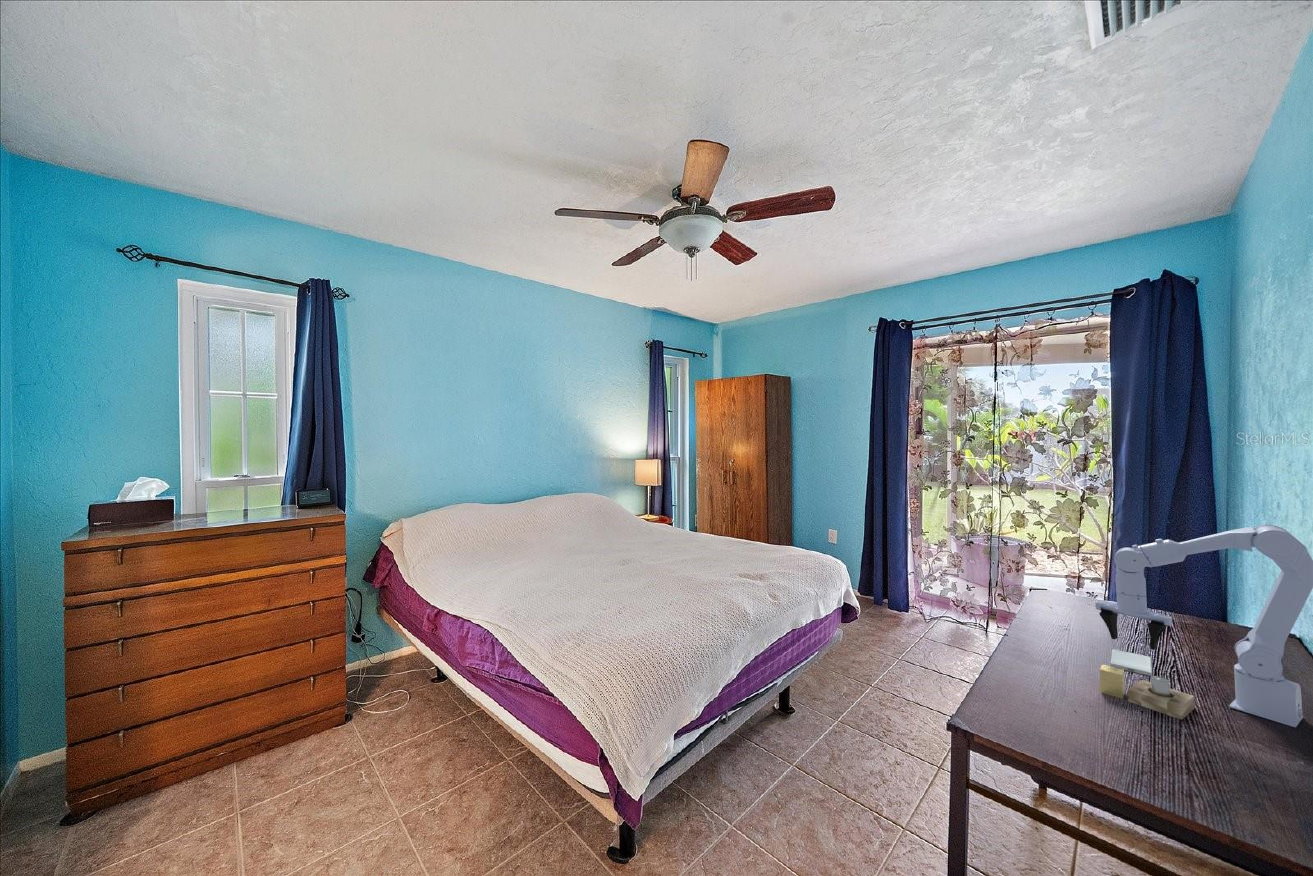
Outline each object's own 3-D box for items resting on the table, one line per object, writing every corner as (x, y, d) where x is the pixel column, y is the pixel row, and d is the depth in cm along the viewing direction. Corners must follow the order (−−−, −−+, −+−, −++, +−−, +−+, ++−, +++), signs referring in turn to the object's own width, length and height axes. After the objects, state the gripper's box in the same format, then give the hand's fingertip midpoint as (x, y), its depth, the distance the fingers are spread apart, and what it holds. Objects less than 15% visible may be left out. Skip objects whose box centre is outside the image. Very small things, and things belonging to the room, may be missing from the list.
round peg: (1168, 703, 113) (1167, 678, 113) (1172, 709, 111) (1171, 683, 111) (1149, 698, 115) (1149, 674, 115) (1153, 704, 113) (1152, 679, 113)
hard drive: (1112, 648, 141) (1110, 662, 132) (1151, 657, 135) (1152, 672, 126) (1112, 654, 141) (1110, 668, 132) (1151, 662, 135) (1152, 678, 126)
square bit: (1125, 693, 118) (1124, 670, 119) (1122, 699, 116) (1121, 675, 116) (1103, 687, 122) (1102, 664, 122) (1100, 692, 119) (1099, 669, 119)
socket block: (1194, 708, 111) (1193, 695, 111) (1181, 720, 107) (1181, 707, 107) (1142, 691, 119) (1141, 679, 119) (1128, 701, 115) (1127, 689, 115)
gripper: (1175, 597, 120) (1177, 650, 120) (1102, 583, 133) (1104, 631, 133) (1165, 603, 117) (1168, 656, 117) (1091, 588, 130) (1093, 636, 130)
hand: (1133, 643), depth 125 cm, fingers open, 7 cm apart
